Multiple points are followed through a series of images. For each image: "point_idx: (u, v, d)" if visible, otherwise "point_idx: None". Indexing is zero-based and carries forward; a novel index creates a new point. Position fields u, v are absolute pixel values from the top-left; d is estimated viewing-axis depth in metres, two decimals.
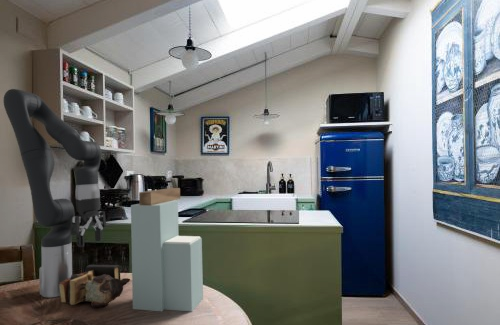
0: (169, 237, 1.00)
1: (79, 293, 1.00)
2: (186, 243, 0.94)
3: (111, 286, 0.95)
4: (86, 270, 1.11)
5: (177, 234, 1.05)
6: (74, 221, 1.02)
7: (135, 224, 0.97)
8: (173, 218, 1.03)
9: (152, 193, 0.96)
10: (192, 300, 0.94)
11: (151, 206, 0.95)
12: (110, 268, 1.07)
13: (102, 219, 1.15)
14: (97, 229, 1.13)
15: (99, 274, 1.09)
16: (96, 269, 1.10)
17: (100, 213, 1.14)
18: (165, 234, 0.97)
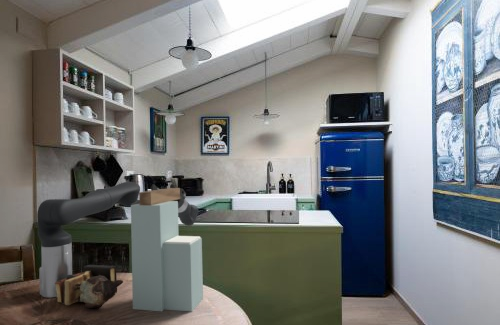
0: (169, 237, 1.00)
1: (74, 293, 0.99)
2: (186, 243, 0.94)
3: (103, 288, 0.94)
4: (84, 270, 1.11)
5: (177, 234, 1.05)
6: None
7: (135, 224, 0.97)
8: (173, 218, 1.03)
9: (152, 193, 0.96)
10: (192, 300, 0.94)
11: (151, 206, 0.95)
12: (106, 269, 1.07)
13: None
14: None
15: (96, 274, 1.09)
16: (93, 269, 1.09)
17: None
18: (165, 234, 0.97)
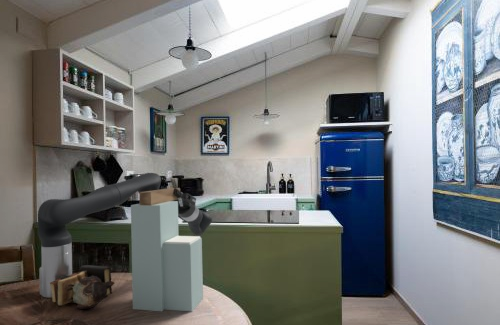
0: (169, 237, 1.00)
1: (67, 294, 0.99)
2: (186, 243, 0.94)
3: (93, 289, 0.93)
4: (80, 270, 1.11)
5: (177, 234, 1.05)
6: None
7: (135, 224, 0.97)
8: (173, 218, 1.03)
9: (152, 193, 0.96)
10: (192, 300, 0.94)
11: (151, 206, 0.95)
12: (100, 269, 1.06)
13: None
14: None
15: (91, 275, 1.08)
16: (88, 269, 1.09)
17: None
18: (165, 234, 0.97)
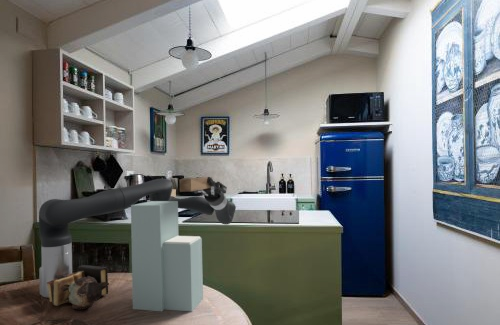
0: (169, 237, 1.00)
1: (63, 294, 0.99)
2: (186, 243, 0.94)
3: (87, 290, 0.92)
4: (78, 270, 1.12)
5: (177, 234, 1.05)
6: None
7: (135, 224, 0.97)
8: (173, 218, 1.03)
9: (192, 180, 1.02)
10: (192, 300, 0.94)
11: (151, 206, 0.95)
12: (97, 270, 1.06)
13: None
14: None
15: (88, 275, 1.08)
16: (85, 269, 1.09)
17: None
18: (165, 234, 0.97)
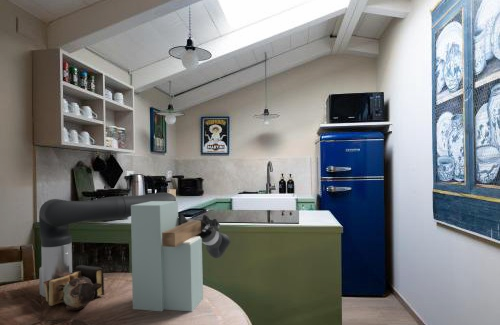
0: None
1: (58, 294, 0.99)
2: (186, 243, 0.94)
3: (80, 291, 0.92)
4: (75, 270, 1.12)
5: None
6: None
7: (135, 224, 0.97)
8: (173, 218, 1.03)
9: (176, 233, 0.90)
10: (192, 300, 0.94)
11: (151, 206, 0.95)
12: (93, 270, 1.05)
13: None
14: None
15: (84, 275, 1.08)
16: (82, 270, 1.09)
17: None
18: None
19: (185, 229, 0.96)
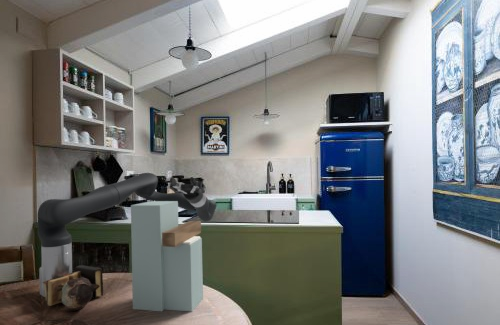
0: None
1: (57, 294, 0.99)
2: (186, 243, 0.94)
3: (77, 291, 0.91)
4: (75, 270, 1.11)
5: None
6: None
7: (135, 224, 0.97)
8: (173, 218, 1.03)
9: (176, 233, 0.90)
10: (192, 300, 0.94)
11: (151, 206, 0.95)
12: (92, 271, 1.05)
13: None
14: None
15: (84, 276, 1.08)
16: (82, 270, 1.09)
17: None
18: None
19: (185, 229, 0.96)
